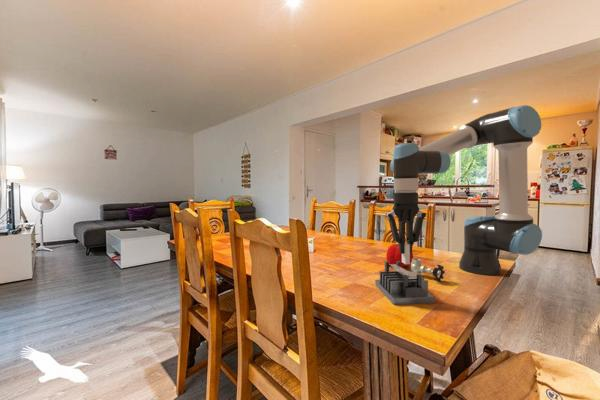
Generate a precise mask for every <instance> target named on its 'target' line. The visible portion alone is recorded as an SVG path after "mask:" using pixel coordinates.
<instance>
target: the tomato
mask: <svg viewBox="0 0 600 400" xmlns="http://www.w3.org/2000/svg"><path fill="white" fill-rule="evenodd" d="M413 254H414V252H412V253H410V264H412V259H414V255H413ZM385 259H386V261H388V262H389V265H393V264H396V261H400V262H401V268H403V269H404V268H406V267H408V266H411V265H410V264H404V263H402V254H401V253H400V252H399V243H391V245H389V247H388V248H387V251H386V258H385Z"/></svg>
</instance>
